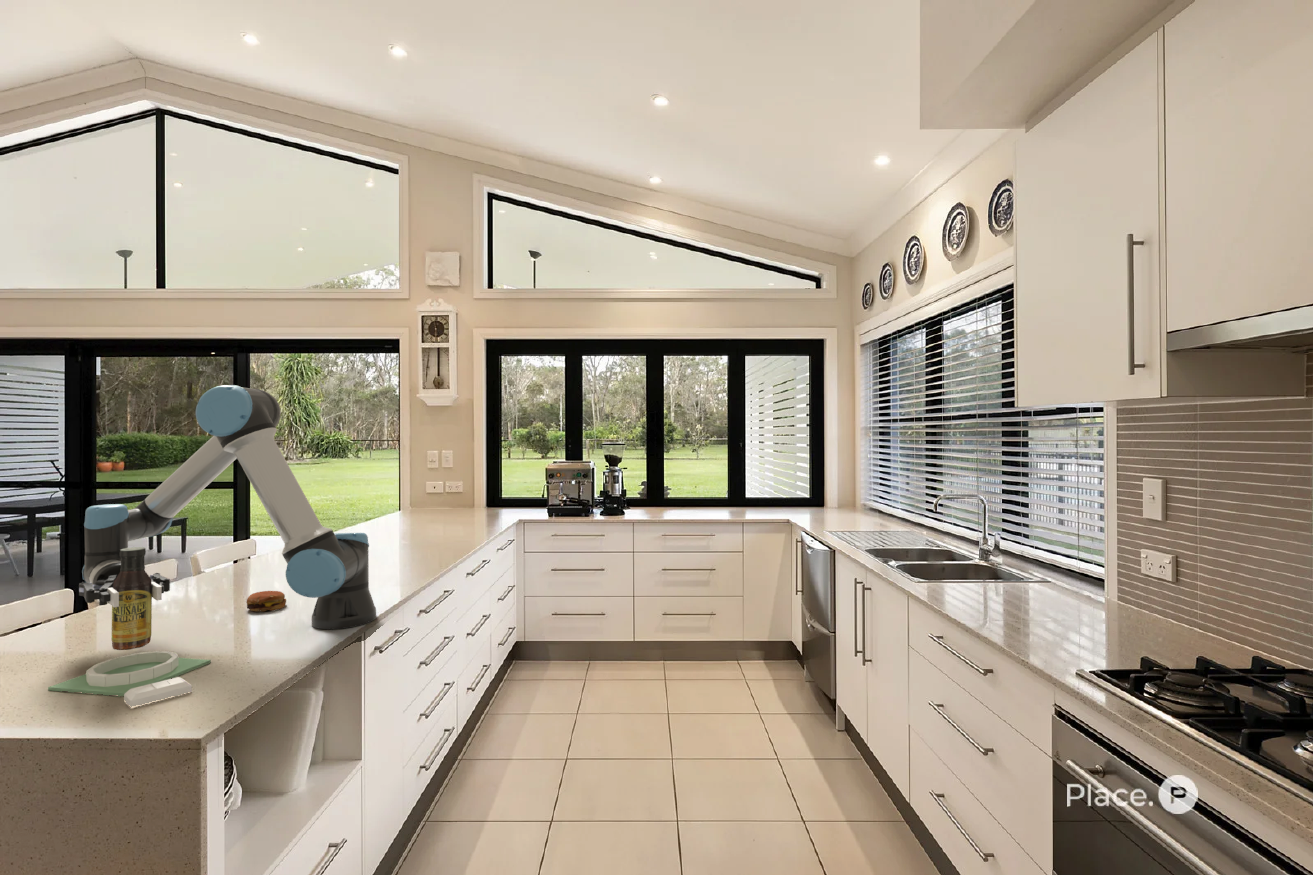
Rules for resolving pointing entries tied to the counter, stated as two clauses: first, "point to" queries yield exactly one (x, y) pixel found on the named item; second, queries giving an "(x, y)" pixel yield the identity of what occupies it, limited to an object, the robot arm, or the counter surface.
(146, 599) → the sauce bottle
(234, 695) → the counter surface
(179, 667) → the putting mat
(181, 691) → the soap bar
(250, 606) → the burger
